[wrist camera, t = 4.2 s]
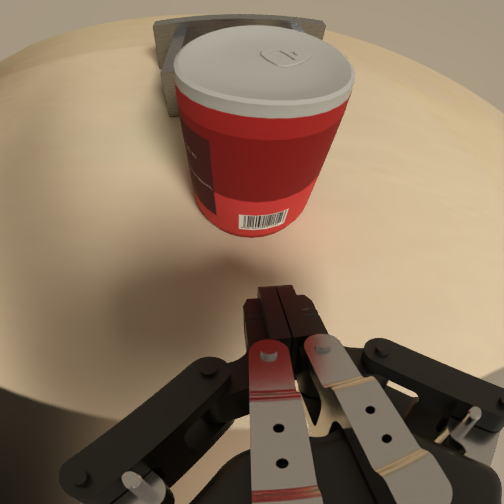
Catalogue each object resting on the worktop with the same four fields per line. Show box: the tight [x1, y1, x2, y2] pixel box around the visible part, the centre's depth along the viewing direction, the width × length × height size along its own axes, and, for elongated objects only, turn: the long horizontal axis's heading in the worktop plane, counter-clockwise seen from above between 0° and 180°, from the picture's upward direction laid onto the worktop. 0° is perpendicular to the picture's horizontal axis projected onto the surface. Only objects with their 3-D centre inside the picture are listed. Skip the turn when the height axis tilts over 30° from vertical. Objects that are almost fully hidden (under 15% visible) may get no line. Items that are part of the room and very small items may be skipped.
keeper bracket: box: [153, 14, 326, 117], centre depth 22 cm, size 11×18×6 cm, turn 95°
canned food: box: [173, 25, 355, 238], centre depth 15 cm, size 8×8×11 cm
